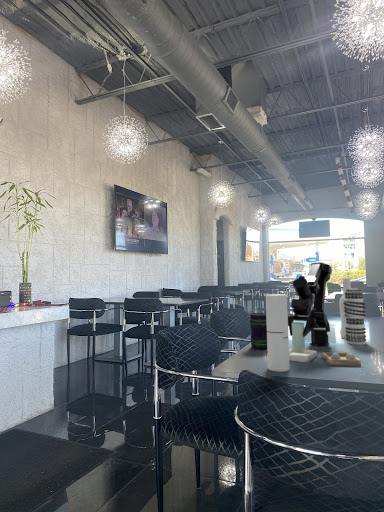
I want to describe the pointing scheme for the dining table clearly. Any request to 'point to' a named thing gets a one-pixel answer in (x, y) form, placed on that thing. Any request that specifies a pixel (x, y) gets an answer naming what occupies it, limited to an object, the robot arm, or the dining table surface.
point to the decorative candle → (354, 317)
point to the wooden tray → (340, 360)
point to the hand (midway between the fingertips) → (297, 335)
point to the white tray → (302, 355)
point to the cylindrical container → (277, 332)
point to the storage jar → (258, 331)
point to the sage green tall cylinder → (298, 337)
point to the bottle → (343, 319)
